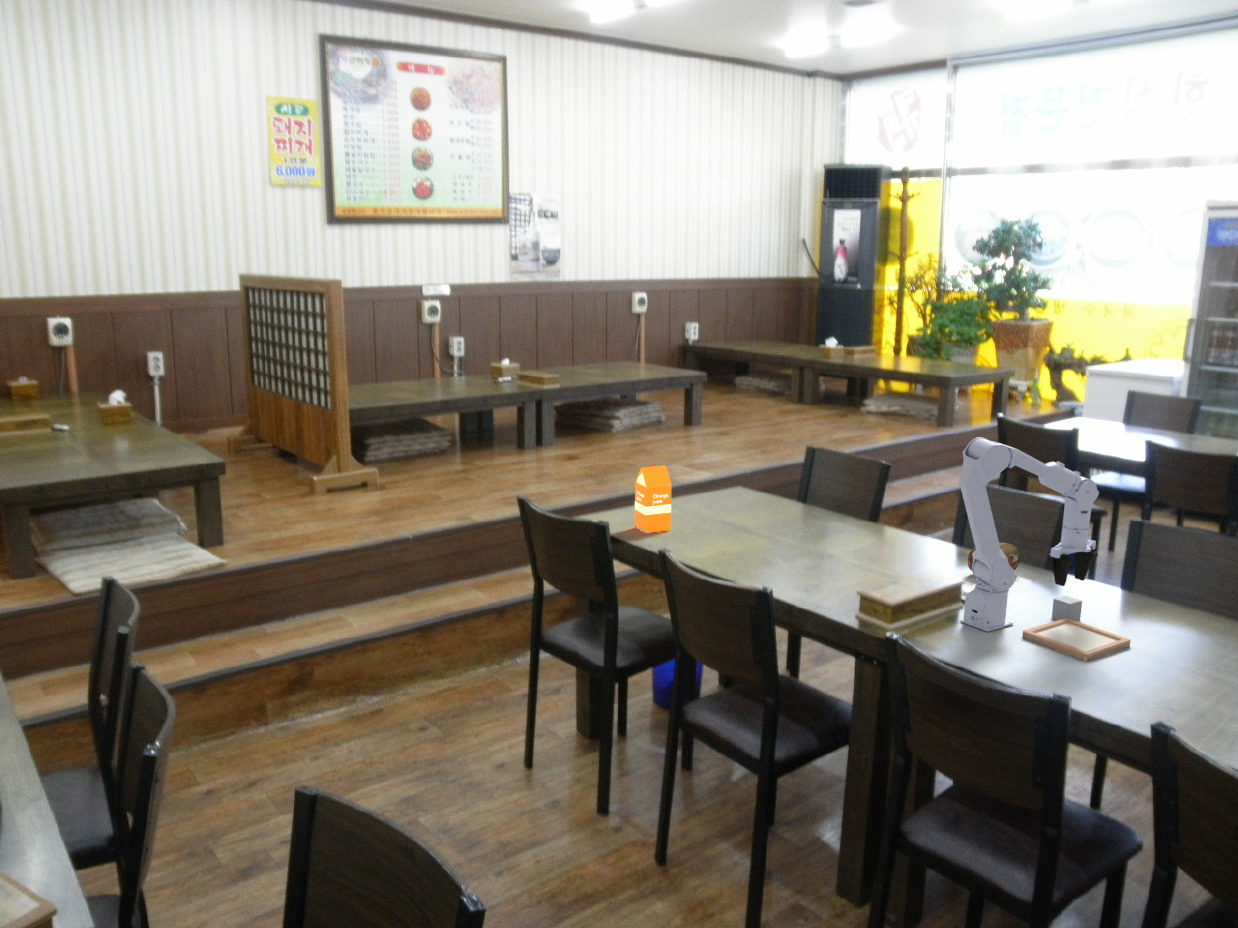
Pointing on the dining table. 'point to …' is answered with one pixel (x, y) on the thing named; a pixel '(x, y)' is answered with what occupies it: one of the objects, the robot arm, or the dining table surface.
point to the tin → (1008, 550)
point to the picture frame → (1076, 639)
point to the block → (1066, 608)
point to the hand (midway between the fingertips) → (1069, 581)
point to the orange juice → (653, 499)
